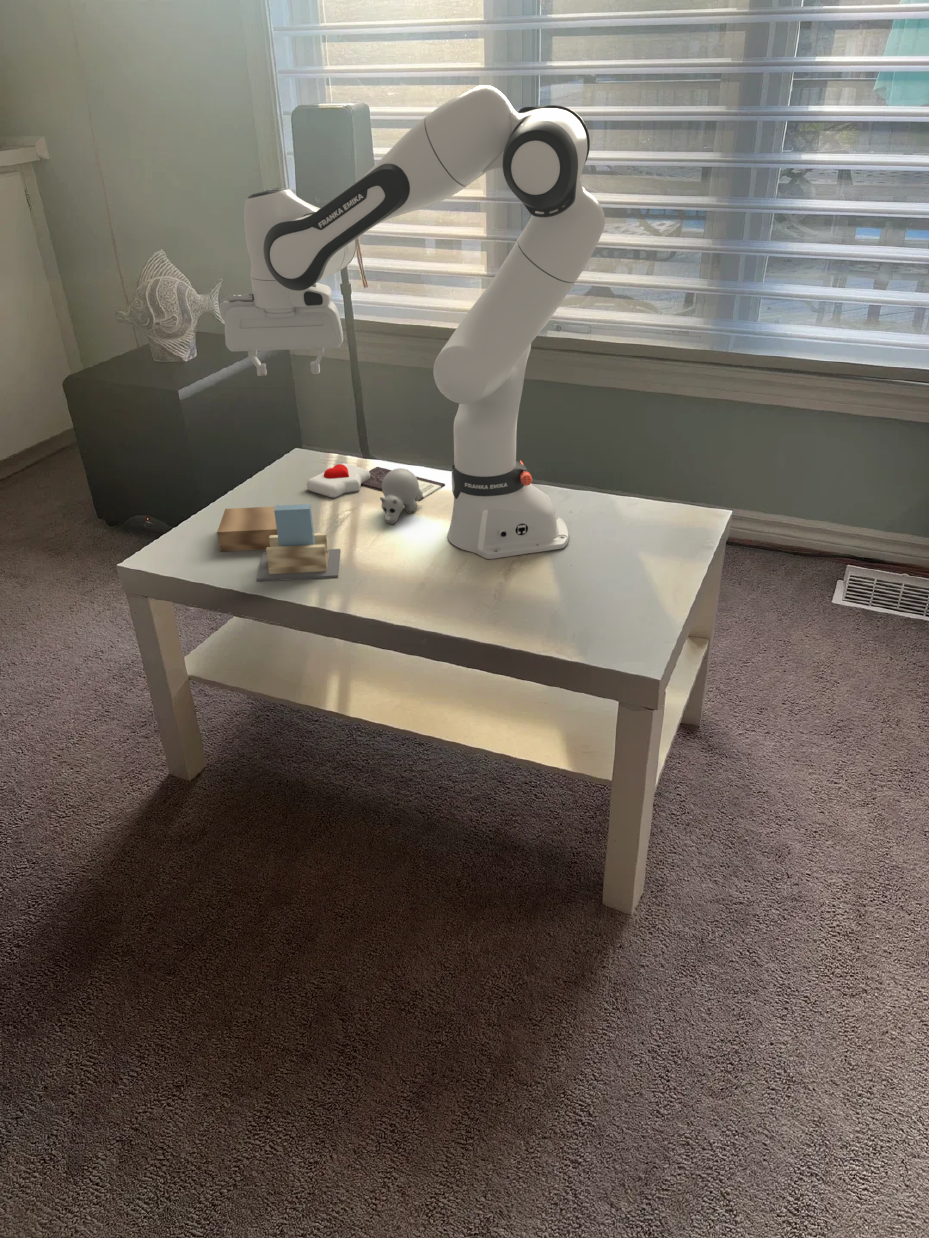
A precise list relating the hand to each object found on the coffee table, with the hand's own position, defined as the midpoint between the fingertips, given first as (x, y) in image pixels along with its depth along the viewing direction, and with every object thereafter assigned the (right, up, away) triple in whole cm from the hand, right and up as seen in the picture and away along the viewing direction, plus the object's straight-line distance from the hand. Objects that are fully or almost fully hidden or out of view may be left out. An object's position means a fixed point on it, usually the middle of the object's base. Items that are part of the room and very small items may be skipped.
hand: (289, 373), depth 163 cm
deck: (-8, -28, +10) cm, 31 cm away
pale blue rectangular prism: (+2, -33, -1) cm, 33 cm away
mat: (+2, -34, 0) cm, 34 cm away
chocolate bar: (+17, -16, +31) cm, 38 cm away
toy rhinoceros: (+18, -23, +18) cm, 34 cm away
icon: (+5, -16, +30) cm, 34 cm away
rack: (+2, -34, 0) cm, 34 cm away
